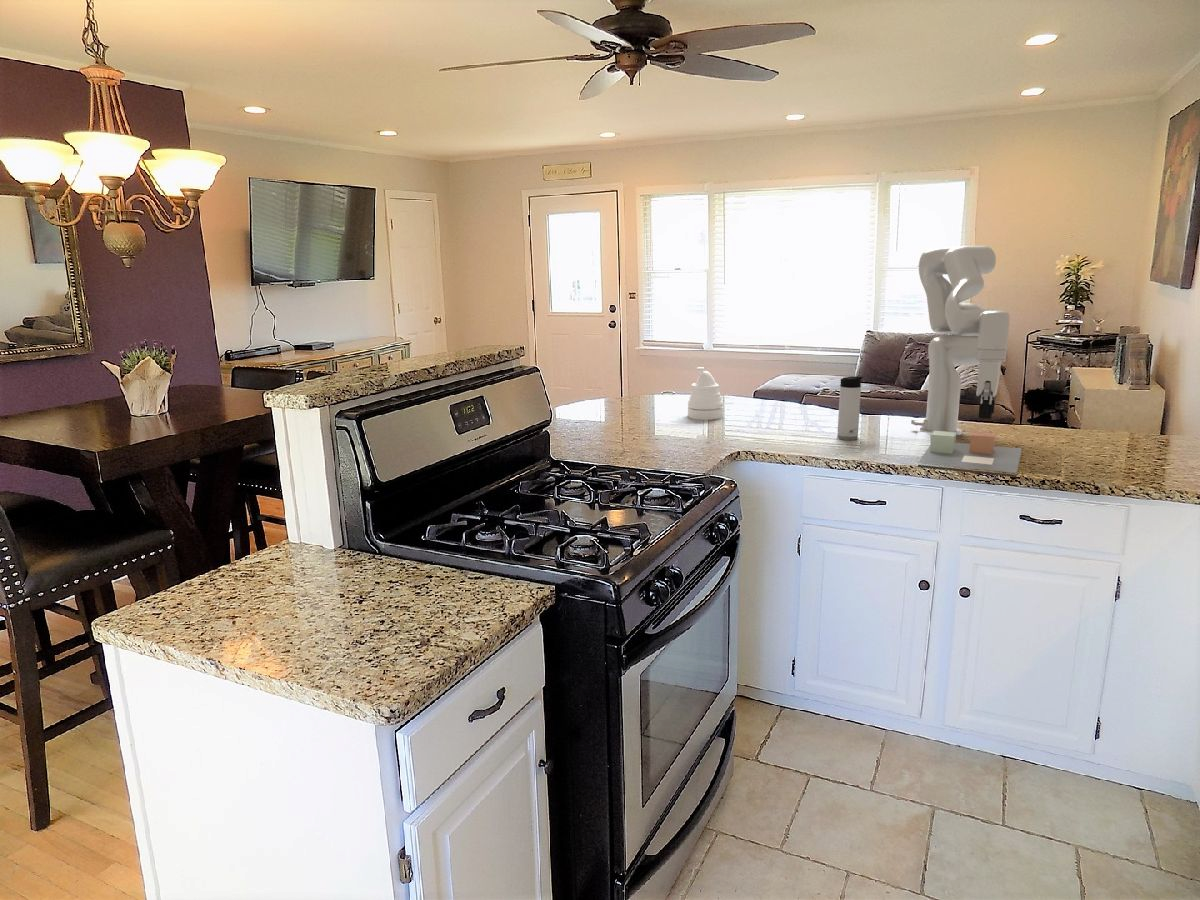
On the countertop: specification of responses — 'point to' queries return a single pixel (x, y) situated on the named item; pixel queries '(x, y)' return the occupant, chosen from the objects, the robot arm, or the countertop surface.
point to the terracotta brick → (982, 442)
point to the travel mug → (849, 408)
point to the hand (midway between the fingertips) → (986, 415)
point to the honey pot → (705, 398)
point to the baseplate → (975, 460)
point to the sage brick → (943, 442)
